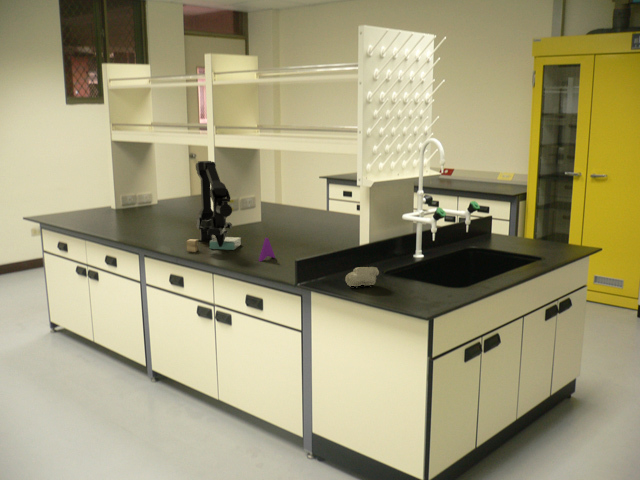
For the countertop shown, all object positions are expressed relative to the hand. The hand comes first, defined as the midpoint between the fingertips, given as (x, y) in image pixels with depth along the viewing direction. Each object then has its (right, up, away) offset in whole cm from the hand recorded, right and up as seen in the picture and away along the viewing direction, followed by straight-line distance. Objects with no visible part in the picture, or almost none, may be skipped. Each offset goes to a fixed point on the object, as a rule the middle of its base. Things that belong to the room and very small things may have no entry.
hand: (220, 246), depth 282 cm
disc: (+1, +1, +7) cm, 7 cm away
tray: (+1, 0, +8) cm, 8 cm away
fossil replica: (+62, -14, -58) cm, 86 cm away
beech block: (-13, -2, -2) cm, 13 cm away
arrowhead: (+23, -6, -17) cm, 30 cm away
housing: (+1, 0, +8) cm, 8 cm away
